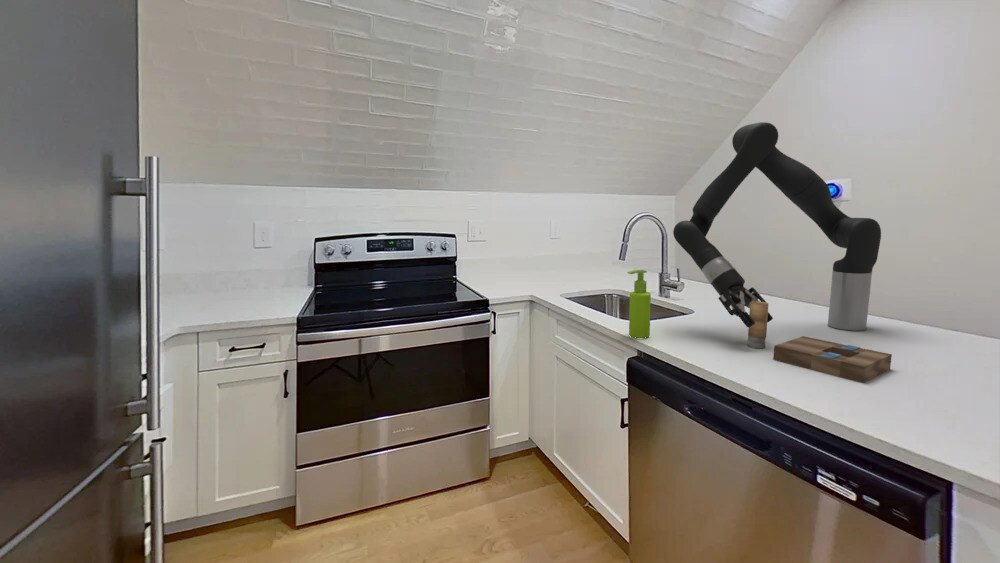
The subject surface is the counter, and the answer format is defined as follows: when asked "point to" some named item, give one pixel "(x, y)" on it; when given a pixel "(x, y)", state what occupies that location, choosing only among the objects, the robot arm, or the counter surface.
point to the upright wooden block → (758, 324)
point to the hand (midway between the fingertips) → (760, 323)
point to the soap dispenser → (639, 307)
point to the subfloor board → (833, 358)
